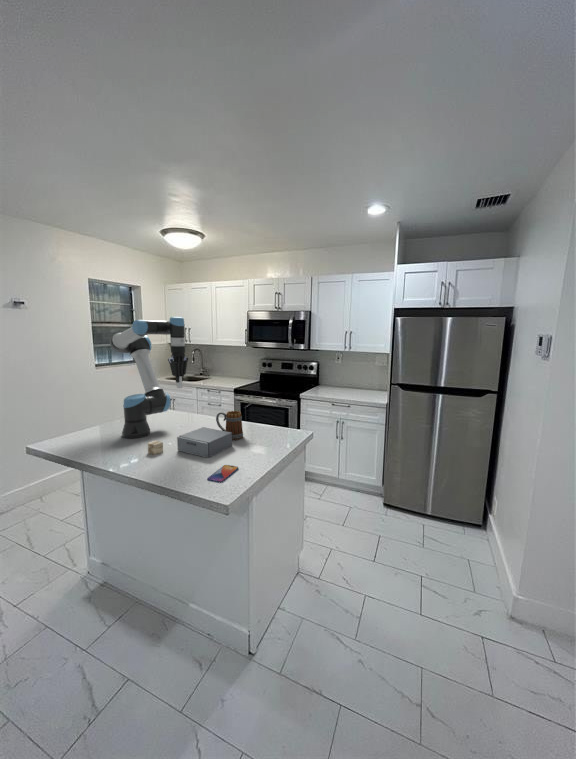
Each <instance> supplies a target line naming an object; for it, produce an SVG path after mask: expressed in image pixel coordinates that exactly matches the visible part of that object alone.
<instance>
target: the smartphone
mask: <svg viewBox="0 0 576 759" xmlns="http://www.w3.org/2000/svg"><path fill="white" fill-rule="evenodd" d="M237 471H239V467H238V466H235V465H230V464H224V465H222V466H221V467H220V468H218V469H217V470H216V471H215V472H214V473H212V474H210V476H208V477H207V478H206V479H207V481H209V482H213V481H214V482H215V483H219V482H220V483H221V482H222V483H224V482H225V481H226V480H228V478H230V477H231V476H232V475H234V474H235V473H236V472H237ZM223 481H224V482H223ZM220 483H219V484H220Z"/></svg>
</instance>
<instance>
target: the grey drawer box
mask: <svg viewBox="0 0 576 759" xmlns="http://www.w3.org/2000/svg"><path fill="white" fill-rule="evenodd" d="M178 437H183V438H187V439H192V440H197V441H201V442H206V443H208V456H209V457H208V458H211V457H213V456H215V455H217V454H219V453H221V452H222V451H225V450H227V449H229V448H232V446H233V440H232V432H226V430H225V431H222V430H221V429H215V428H209V427H204V426H202V427H199V428H197V429H194V430H191V431H189V432H185V433H183V434H181V435H178Z"/></svg>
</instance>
